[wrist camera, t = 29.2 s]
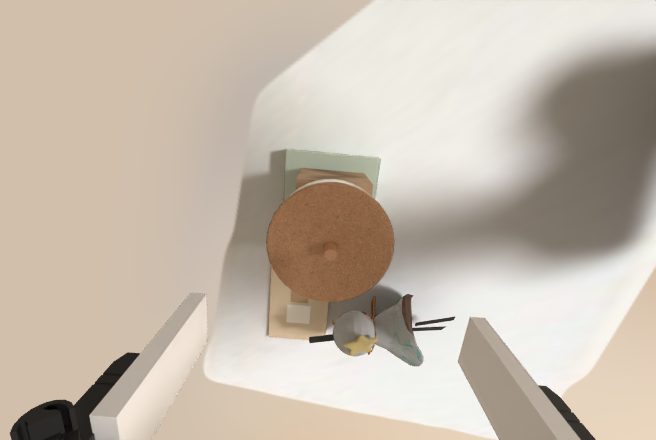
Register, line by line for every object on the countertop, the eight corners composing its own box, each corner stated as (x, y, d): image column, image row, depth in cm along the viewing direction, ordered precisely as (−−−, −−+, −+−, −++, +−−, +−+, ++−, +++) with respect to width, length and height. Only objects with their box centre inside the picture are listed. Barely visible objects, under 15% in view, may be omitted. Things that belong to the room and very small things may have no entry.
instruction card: (332, 266, 46) (332, 268, 45) (324, 339, 50) (324, 341, 49) (271, 261, 45) (271, 263, 45) (268, 335, 49) (268, 337, 49)
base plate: (378, 157, 41) (380, 159, 39) (366, 241, 44) (368, 246, 43) (288, 148, 41) (286, 150, 39) (283, 234, 44) (281, 239, 42)
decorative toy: (454, 273, 43) (311, 277, 39) (483, 349, 37) (319, 363, 33) (421, 305, 52) (303, 311, 48) (441, 370, 46) (308, 382, 42)
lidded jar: (396, 192, 32) (423, 219, 23) (355, 277, 35) (365, 330, 26) (300, 153, 31) (289, 165, 22) (266, 245, 34) (244, 289, 25)
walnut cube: (364, 173, 40) (373, 185, 32) (357, 231, 42) (363, 255, 34) (302, 167, 39) (296, 178, 32) (298, 226, 42) (292, 249, 34)
